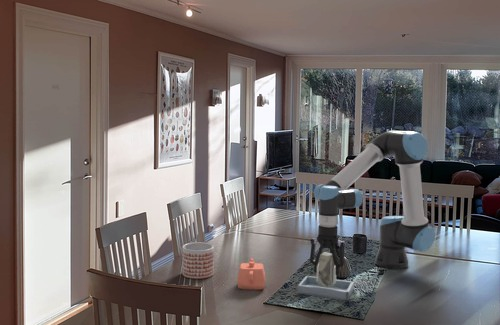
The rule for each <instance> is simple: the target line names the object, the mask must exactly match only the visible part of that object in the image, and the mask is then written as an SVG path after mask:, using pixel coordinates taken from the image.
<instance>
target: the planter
mask: <svg viewBox="0 0 500 325" xmlns="http://www.w3.org/2000/svg"><path fill="white" fill-rule="evenodd" d="M181 249H182V250H181V251H182V252H181V253H182V254H181V256H182V276H183V277H185V278H186V279H190V280H203V279H204V280H205V279H209V278H211V277H213V276H214V273H215V272H214V271H215V270H214V269H215V268H214V267H215V263H214V261H215V247H214V244H211V243H208V242H199V241H198V242H197V241H196V242H189V243H185V244H183V245H182V248H181Z"/></svg>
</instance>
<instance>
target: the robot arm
mask: <svg viewBox="0 0 500 325" xmlns="http://www.w3.org/2000/svg"><path fill="white" fill-rule="evenodd" d="M428 151H429V144H428V140H427V139H426V137H425V135H423V134H422V133H420V132H417V131H411V130H388V131H385V132H382V133H380V134H379V135H378V136H376V137H374V138H372V139H371V140H370V141H369V142H368V143H367V144H366V145H365V149H364V150H362V152H360V153H359V154H358V155H356V156H355V158H354V159H353V160H352V161H350V162H349V163H348V164H346V166H344V167H343V168H342V169H341V170H340V171H339V172H337V174H336V175H334V176H333V177H332V178H331V179H330V180H329V181H328V182H326V183H321V184H318V185H316V186H315V187H314V190H313V195H314V196H313V197H314V199H316V201H318V224H319V225H318V228H317V231H318V232H317V237H312V238H311V239H310V245H311V247H310V256H309V257H310V258H309V263H310V264H313V265H314V266H313V267H314V269H313V272H314V273H316V277H317V278H316V281H317V282H318V281H319V258H320V254H321V253H323V250H324V249H328V250H330V253H331V254H332V256H333V259H334V263H335V266H334V271H333V284H335V283H336V280H337V276H339V275H340V268H341V267H344V265H345V249H344V247H345V245H346V244H345V242H346V241H345V240H340V239H339V238H338V224H339V210H346V209H354V208H358V207H360V206H362V204H363V200H364V199H363V198H364V196H363V193H362V192H361V190H359V189H357V188H350V186H352V185H353V184H354V183H355V182H356V181H357V180H359V178H361V177H362V176H363V175H364V174H365V173H366V172H367V171H369V169H370V168H371V167H373V166H374V165H375V164H376V163H378V162H382V161H383V160H384V159H385V158H388V157H393V158H394V162H395V165H397V166H398V168H399V176H400V187H401V197H402V207H403V208H402V209H403V215H388V216H383V217H382V218H381V219H380V225H379V248H378V251H377V253H376V256H375V259H374V261H375V262H374V263H375V265H377V266H378V267H382V268H386V269H395V270H397V269H399V270H400V269H406V268H407V267H409V258H408V255H407V252H406V249H407V248H408V249H411V250H413V251H414V252H415V251H418V252H420V253H421V252H423V253H424V252H426V251H428V250H430V248H432V246H433V245H434V243H435V240H436V231H435V229H434V228H433V227H431V225H430V226H429V219H428V218H427V217H426V216H425V211H424V210H425V209H424V207H425V206H424V199H423V197H424V196H423V186H422V174H421V164H423V162H424V158H425V157H427V152H428ZM348 188H350V189H348ZM317 242H318V243H319V248H318V250H317V251H318V252H317V255H316V244H317ZM337 244H338V247H339V248H338V251H339V258H338V254H337V250H336V245H337ZM315 256H316V257H315Z"/></svg>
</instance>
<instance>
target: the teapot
mask: <svg viewBox="0 0 500 325" xmlns="http://www.w3.org/2000/svg"><path fill="white" fill-rule="evenodd" d="M254 260H255V259H254V257H251V258H250V261H249V262H244V263H243V262H242V263H240V266H239V269H238V274H237V287H238V289H240V290H250V291H251V290H256V291H258V290H264V289H265V287H266V273H265V267H264V264H263V263H260V262H259V263H257V262H255V261H254Z"/></svg>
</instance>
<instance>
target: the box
mask: <svg viewBox="0 0 500 325" xmlns="http://www.w3.org/2000/svg"><path fill="white" fill-rule="evenodd" d="M318 264H319V281H318V284H319V285H321V286H325V287H330V286H333V285H334V284H333V271H334V266H335V263H334V259H333V256H332V252H328V251H327V252H326V251H324V252H322V253H321V254H320V258H319V263H318Z"/></svg>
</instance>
